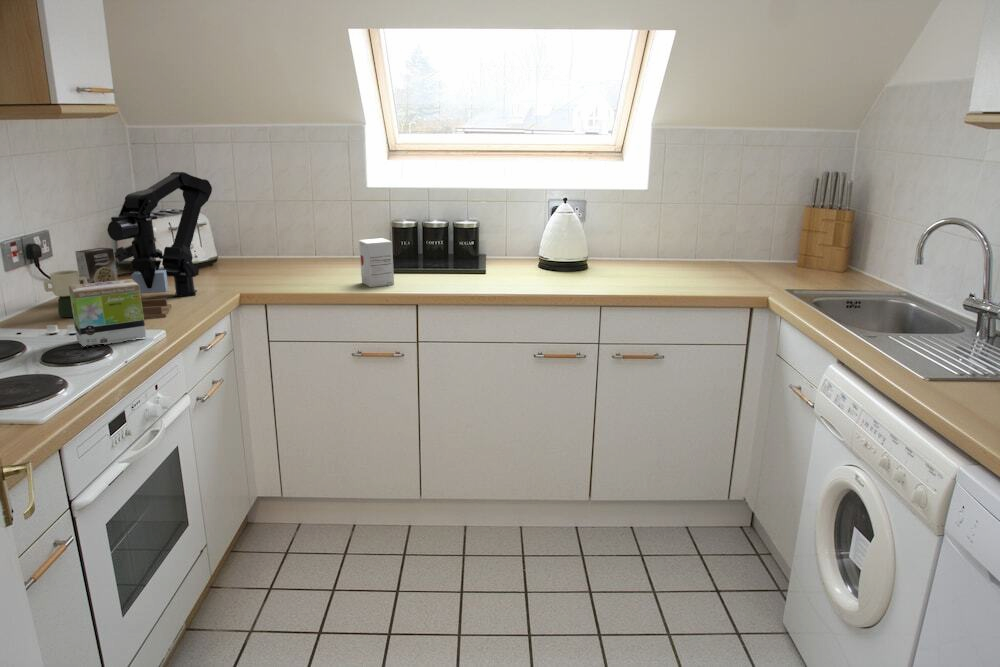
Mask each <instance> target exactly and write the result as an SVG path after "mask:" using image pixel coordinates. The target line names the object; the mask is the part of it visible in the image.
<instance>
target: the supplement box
mask: <svg viewBox="0 0 1000 667" xmlns="http://www.w3.org/2000/svg"><path fill="white" fill-rule="evenodd" d="M358 241H359V243H358V244H359V246H358V247H359V258H360V259H359V262H360V276H361V283H363V285H366V286H367V287H369V288H375V287H383V286H389V285H390V286H391V285H395V276H394V275H395V274H394V272H395V271H394V258H393V257H394V256H393V255H394V254H393V241H392V240H390V239H389V240H388V239H385V237H379V238H369V239H368V238H367V239H366V238H365V239H359V240H358Z"/></svg>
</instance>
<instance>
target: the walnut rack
mask: <svg viewBox="0 0 1000 667" xmlns="http://www.w3.org/2000/svg"><path fill="white" fill-rule="evenodd" d="M167 299H168V298H155V299H141V301H142V308H143V315H144V320H145V319H158V318H166V317H167V316H168V314H169V312H170V311H171V309H172V304H168V300H167Z"/></svg>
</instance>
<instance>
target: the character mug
mask: <svg viewBox="0 0 1000 667" xmlns="http://www.w3.org/2000/svg"><path fill="white" fill-rule="evenodd" d="M49 277H50V278H49V279H47V280H43V287H44V288H43V289H44V291H45V292H47V293H49V292H52V293H53V294H54V296H56V297H58V300H57V303H58V304H57V308H58V311H57V312H58V316H60V317H63V318H70V317H73V312H72V305H71V298H70V292H69V286H70V285H79V284H80V280H83V282H84V284H88V283H87V278H86V277H79V273H78V270H58V271H54V272H51V273H50V274H49ZM49 284H50V285H51V287H49Z"/></svg>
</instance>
